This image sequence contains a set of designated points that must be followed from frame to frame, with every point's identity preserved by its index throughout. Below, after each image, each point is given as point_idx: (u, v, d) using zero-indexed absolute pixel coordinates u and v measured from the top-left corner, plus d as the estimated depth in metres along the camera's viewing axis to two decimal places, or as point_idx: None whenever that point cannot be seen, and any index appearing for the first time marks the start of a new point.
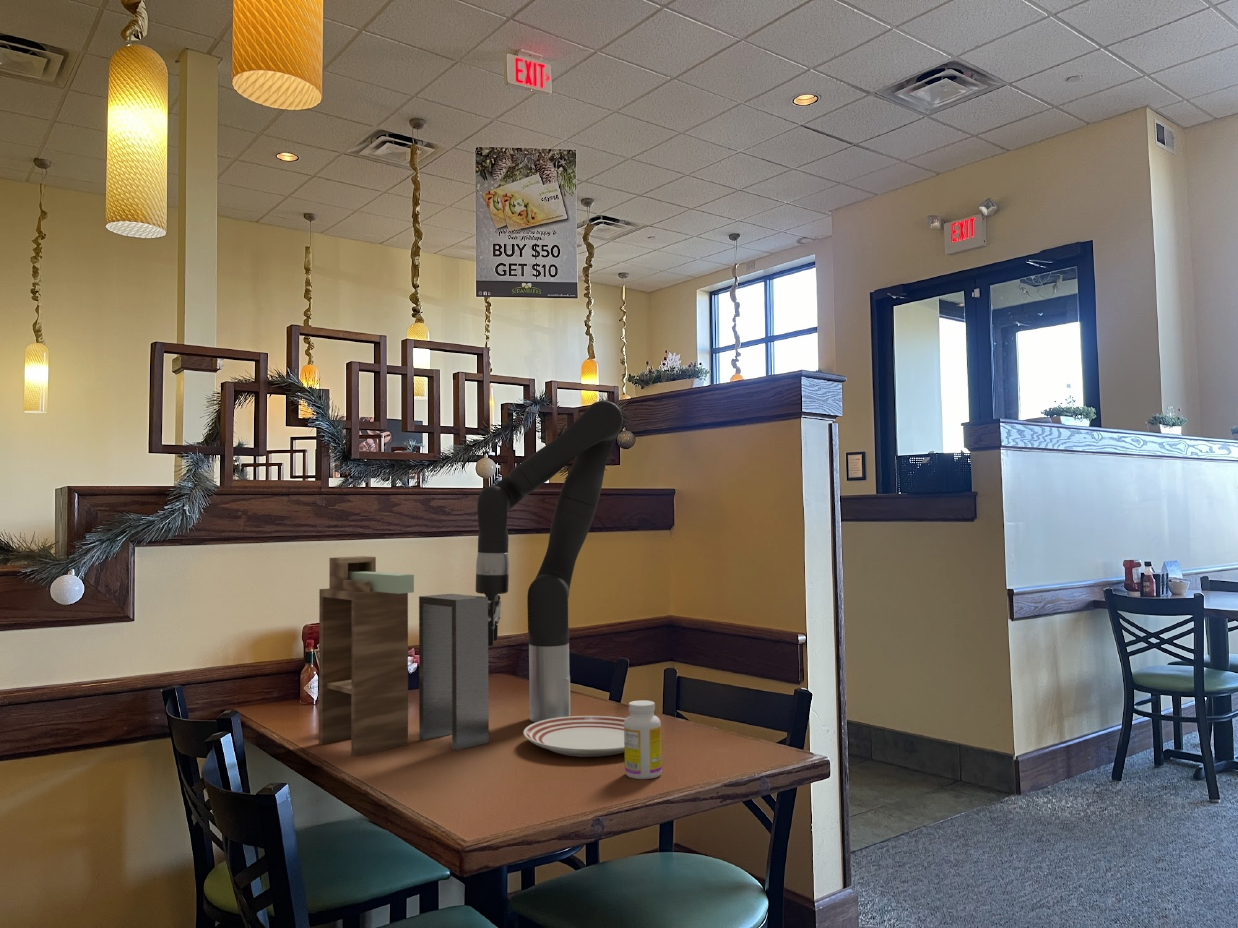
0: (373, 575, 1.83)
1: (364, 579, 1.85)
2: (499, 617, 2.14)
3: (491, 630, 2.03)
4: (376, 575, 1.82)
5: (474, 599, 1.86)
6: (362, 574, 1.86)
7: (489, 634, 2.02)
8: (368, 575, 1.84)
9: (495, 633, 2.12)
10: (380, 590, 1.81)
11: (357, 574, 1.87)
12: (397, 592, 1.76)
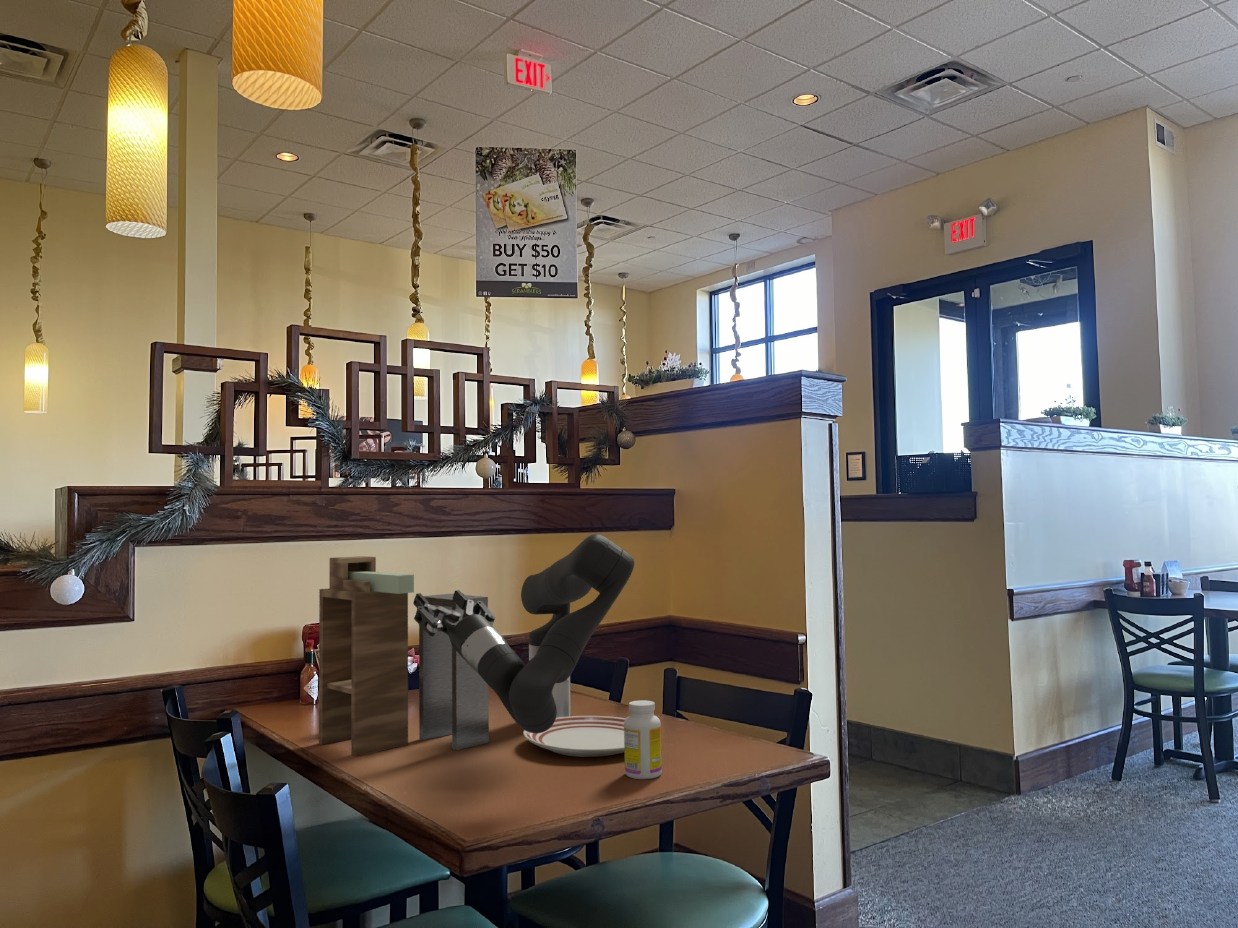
0: (373, 575, 1.83)
1: (364, 579, 1.85)
2: (422, 607, 1.62)
3: None
4: (376, 575, 1.82)
5: (474, 599, 1.86)
6: (362, 574, 1.86)
7: None
8: (368, 575, 1.84)
9: None
10: (380, 590, 1.81)
11: (357, 574, 1.87)
12: (397, 592, 1.76)
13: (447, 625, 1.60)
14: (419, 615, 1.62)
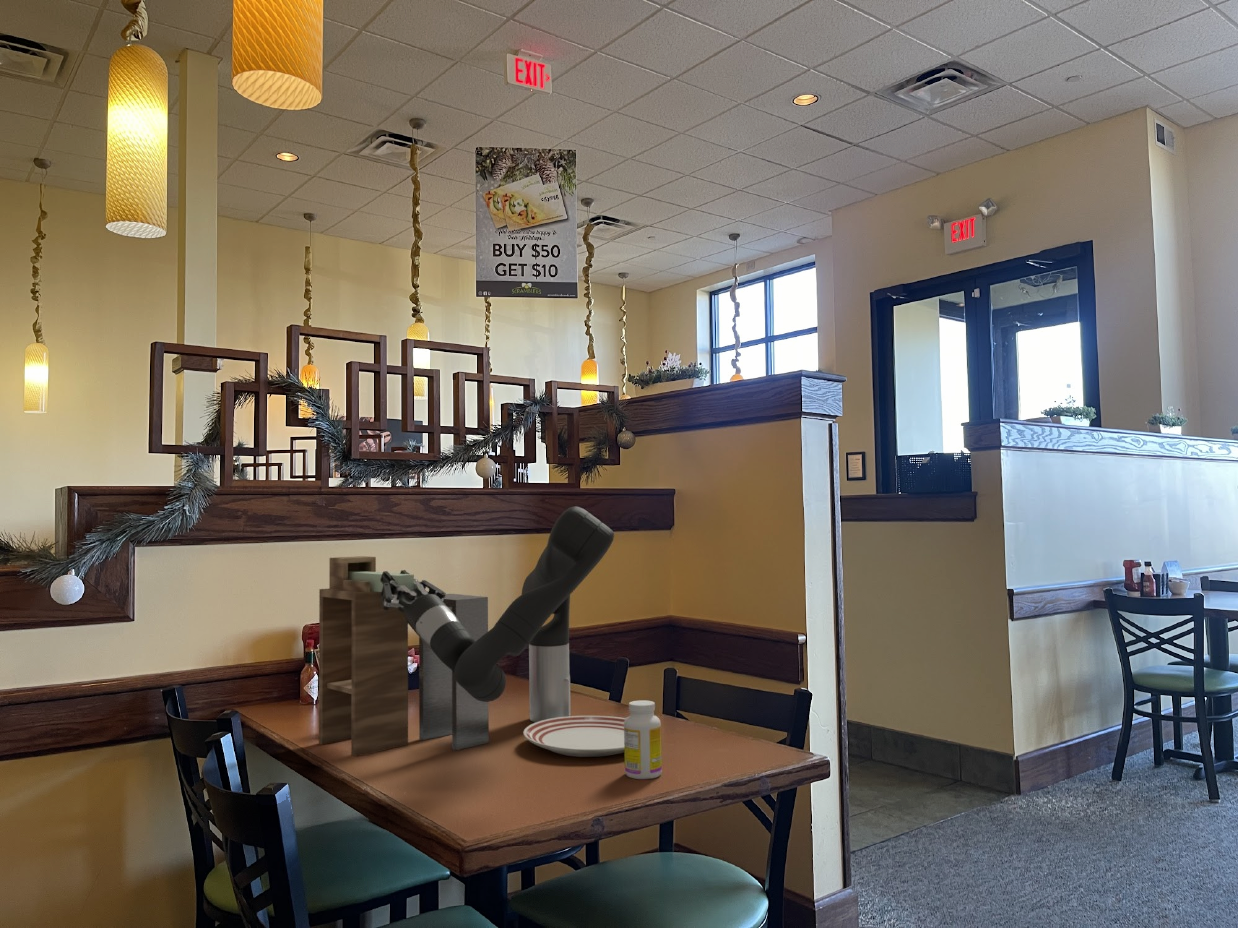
0: (373, 575, 1.83)
1: (364, 579, 1.85)
2: (387, 584, 1.74)
3: None
4: (376, 575, 1.82)
5: (474, 599, 1.86)
6: (362, 574, 1.86)
7: None
8: (368, 575, 1.84)
9: None
10: (380, 590, 1.81)
11: (357, 574, 1.87)
12: None
13: (401, 603, 1.71)
14: None
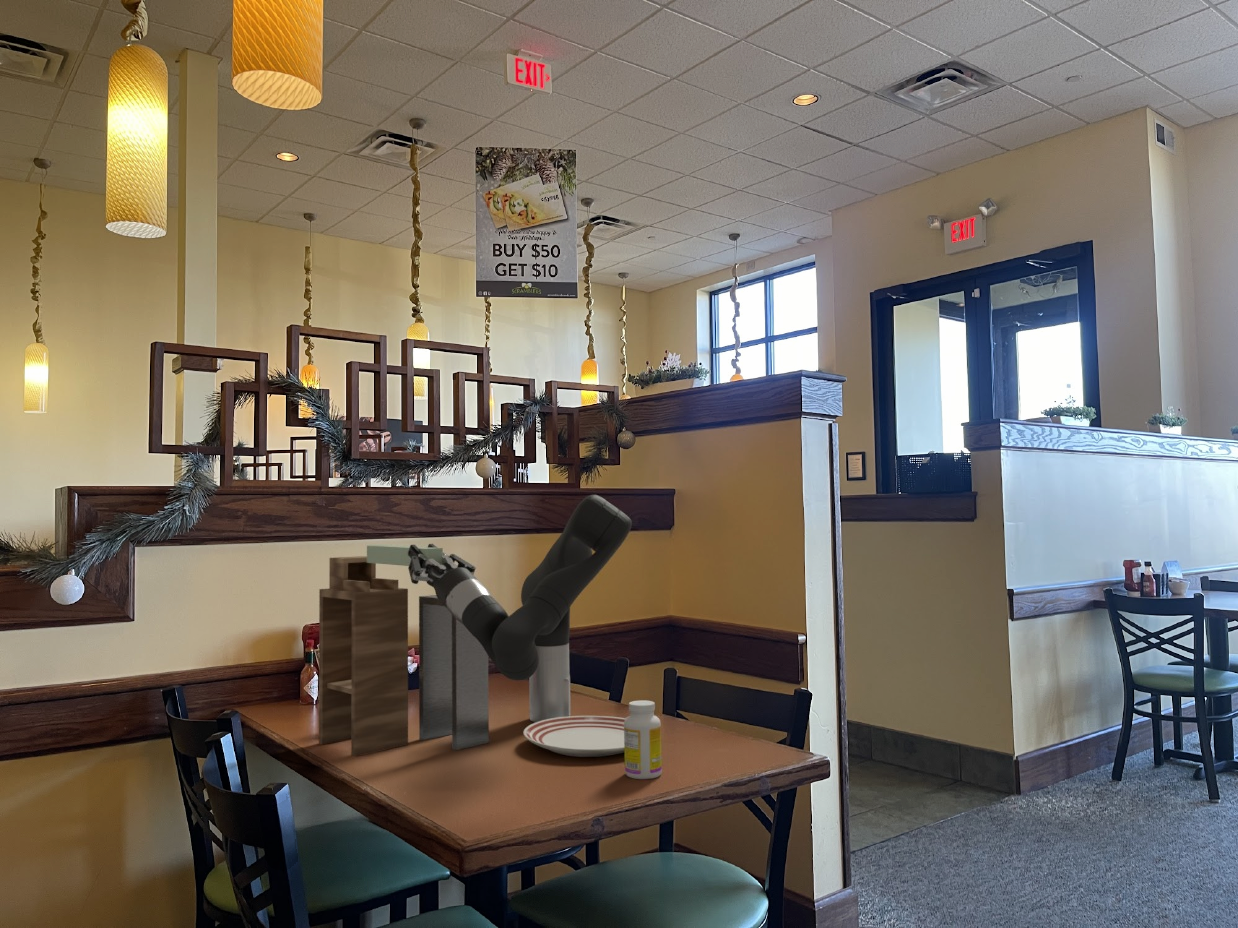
0: (400, 549, 1.76)
1: (390, 553, 1.79)
2: (416, 557, 1.68)
3: None
4: (403, 548, 1.75)
5: None
6: (388, 548, 1.79)
7: None
8: (394, 549, 1.77)
9: None
10: (407, 564, 1.74)
11: (382, 548, 1.81)
12: None
13: (430, 576, 1.64)
14: None
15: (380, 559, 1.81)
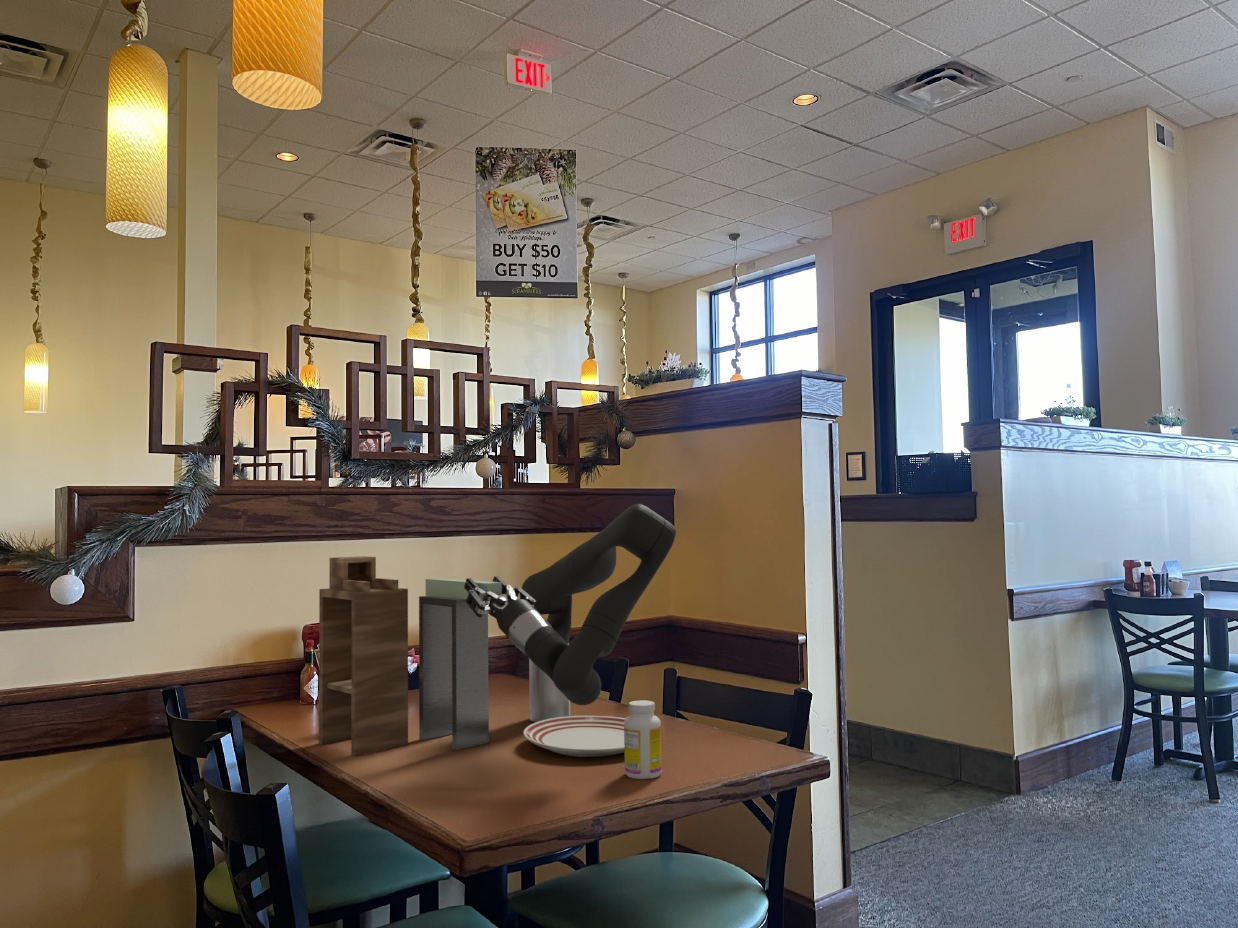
0: (459, 583, 1.86)
1: (449, 586, 1.88)
2: (473, 591, 1.76)
3: None
4: (463, 583, 1.85)
5: None
6: (447, 581, 1.89)
7: None
8: (454, 583, 1.87)
9: None
10: None
11: (442, 581, 1.90)
12: None
13: (494, 608, 1.74)
14: (471, 598, 1.76)
15: (439, 592, 1.91)
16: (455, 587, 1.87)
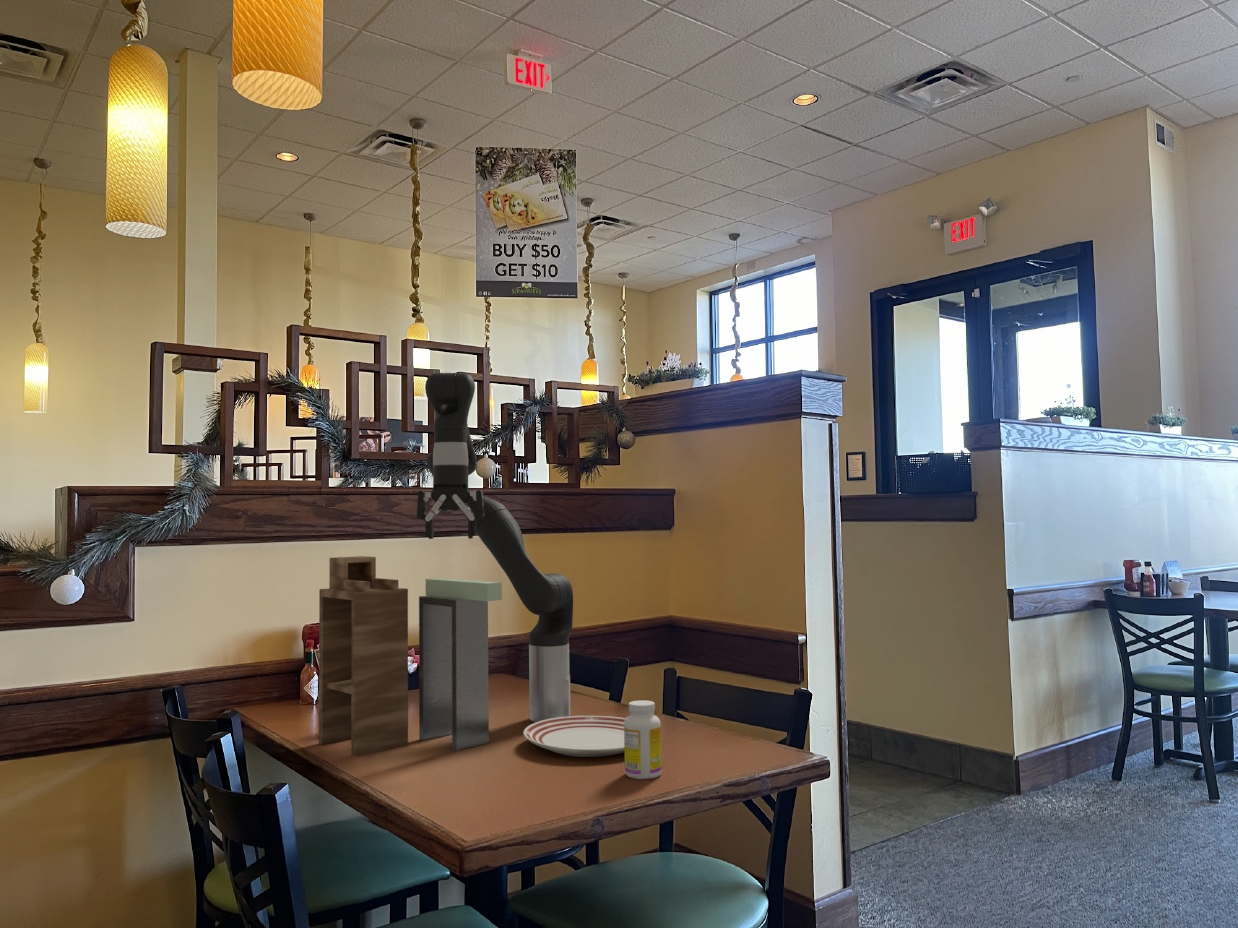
0: (459, 583, 1.86)
1: (449, 586, 1.88)
2: (479, 514, 1.94)
3: (427, 522, 1.95)
4: (463, 583, 1.85)
5: None
6: (447, 581, 1.89)
7: None
8: (454, 583, 1.87)
9: None
10: (467, 598, 1.84)
11: (442, 581, 1.90)
12: (486, 600, 1.79)
13: (468, 490, 1.95)
14: None
15: (439, 592, 1.91)
16: (455, 587, 1.87)
